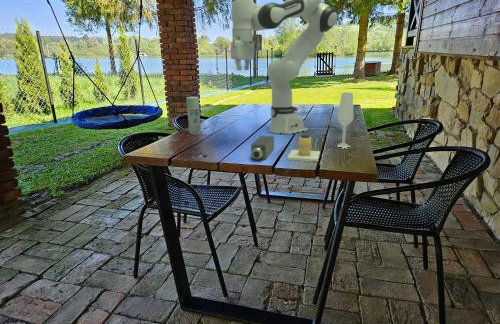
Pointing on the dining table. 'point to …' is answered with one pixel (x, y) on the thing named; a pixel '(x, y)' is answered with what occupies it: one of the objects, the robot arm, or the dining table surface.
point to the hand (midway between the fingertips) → (243, 70)
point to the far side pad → (295, 156)
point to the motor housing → (262, 147)
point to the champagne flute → (345, 114)
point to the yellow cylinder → (304, 145)
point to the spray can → (193, 115)
